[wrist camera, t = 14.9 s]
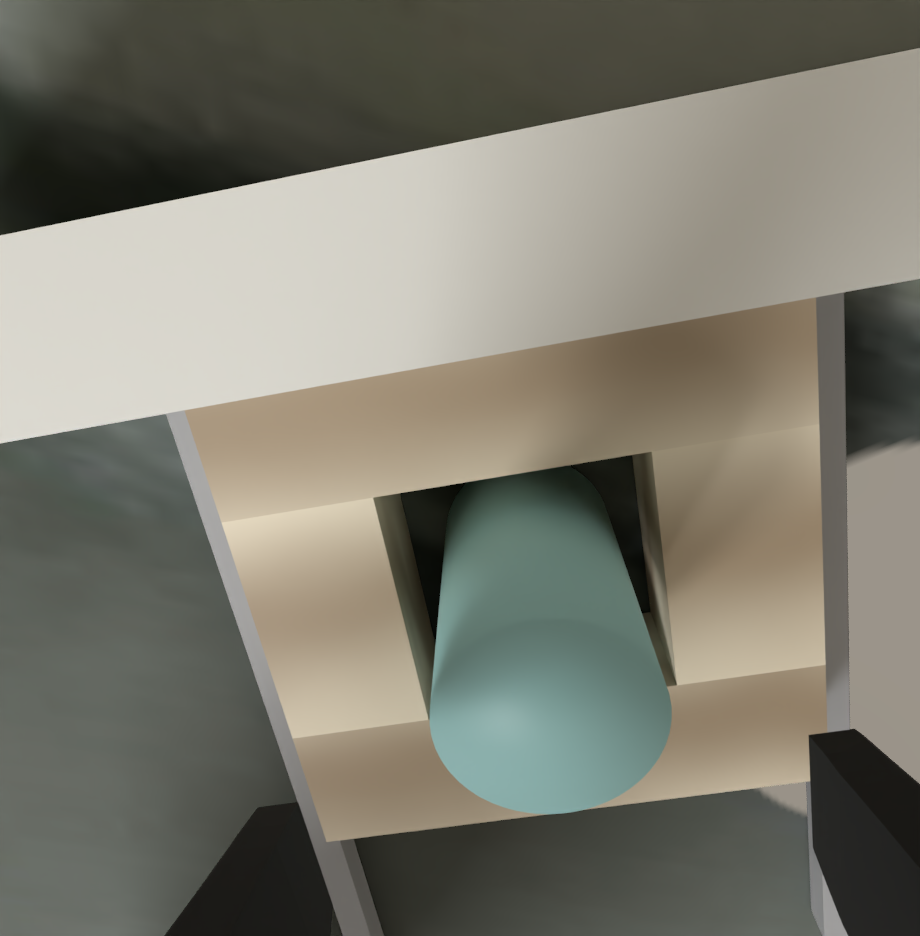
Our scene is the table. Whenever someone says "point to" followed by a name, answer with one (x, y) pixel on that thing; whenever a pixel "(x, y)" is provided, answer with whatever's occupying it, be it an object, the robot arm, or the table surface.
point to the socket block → (519, 451)
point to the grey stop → (479, 290)
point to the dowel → (542, 649)
